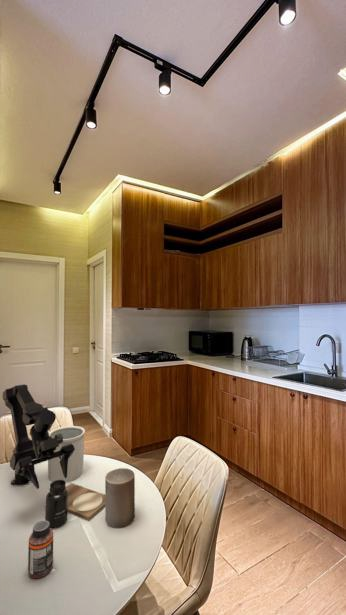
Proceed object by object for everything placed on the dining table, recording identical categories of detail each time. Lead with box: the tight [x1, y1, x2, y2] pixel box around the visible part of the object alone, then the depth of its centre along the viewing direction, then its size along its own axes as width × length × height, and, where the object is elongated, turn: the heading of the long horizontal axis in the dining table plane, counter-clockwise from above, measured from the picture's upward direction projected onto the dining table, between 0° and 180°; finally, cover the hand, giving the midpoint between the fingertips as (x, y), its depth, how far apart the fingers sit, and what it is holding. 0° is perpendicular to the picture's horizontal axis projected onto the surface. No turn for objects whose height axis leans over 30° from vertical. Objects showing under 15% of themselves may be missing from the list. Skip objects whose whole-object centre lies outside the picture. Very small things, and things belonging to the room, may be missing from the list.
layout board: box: [66, 482, 105, 522], centre depth 104 cm, size 20×12×1 cm, turn 64°
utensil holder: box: [47, 425, 86, 483], centre depth 122 cm, size 15×15×18 cm
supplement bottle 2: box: [44, 480, 69, 529], centre depth 94 cm, size 7×7×12 cm
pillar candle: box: [104, 467, 136, 529], centre depth 96 cm, size 10×10×15 cm
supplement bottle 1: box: [27, 519, 54, 579], centre depth 76 cm, size 6×6×11 cm
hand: (52, 482), depth 97 cm, fingers open, 9 cm apart
